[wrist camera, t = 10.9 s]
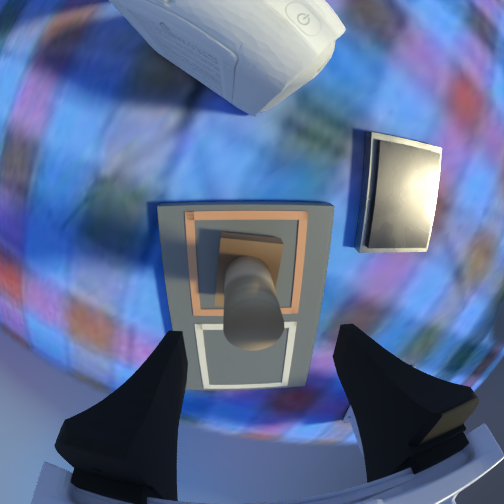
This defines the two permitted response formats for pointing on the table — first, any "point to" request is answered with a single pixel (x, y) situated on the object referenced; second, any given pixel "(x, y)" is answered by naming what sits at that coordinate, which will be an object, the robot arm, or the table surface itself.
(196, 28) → the photo printer
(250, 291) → the stamp
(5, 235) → the table surface
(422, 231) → the ink pad
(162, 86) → the table surface
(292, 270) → the board
